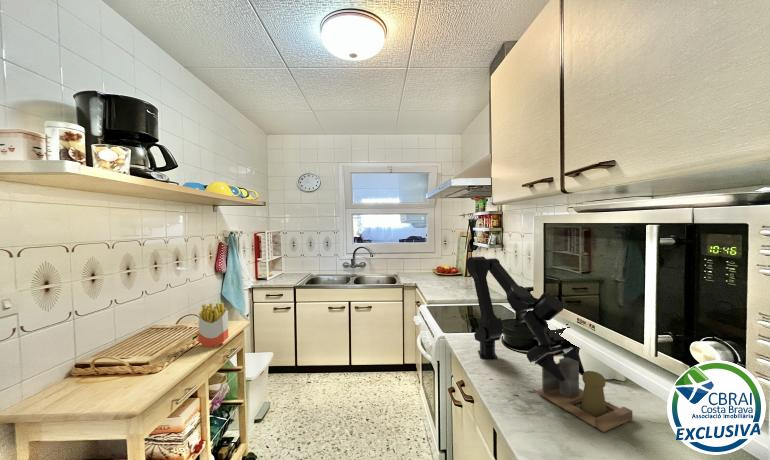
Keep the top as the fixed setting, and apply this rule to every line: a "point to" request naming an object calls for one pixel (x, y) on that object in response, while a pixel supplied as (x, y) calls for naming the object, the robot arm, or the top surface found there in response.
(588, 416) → the wooden shape sorter tray
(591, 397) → the tan rounded peg
